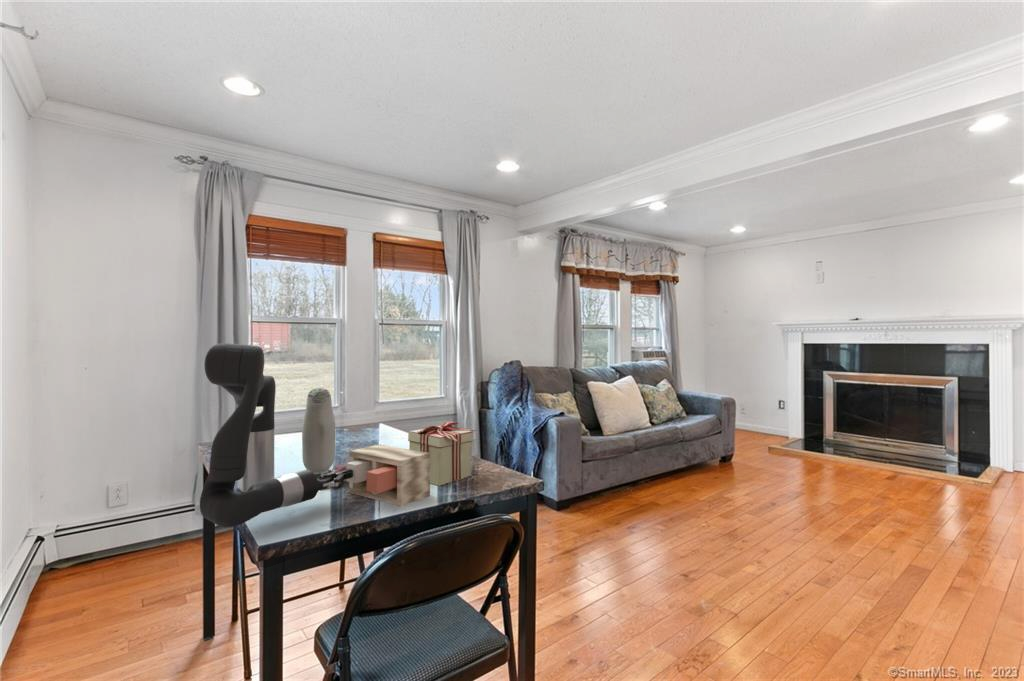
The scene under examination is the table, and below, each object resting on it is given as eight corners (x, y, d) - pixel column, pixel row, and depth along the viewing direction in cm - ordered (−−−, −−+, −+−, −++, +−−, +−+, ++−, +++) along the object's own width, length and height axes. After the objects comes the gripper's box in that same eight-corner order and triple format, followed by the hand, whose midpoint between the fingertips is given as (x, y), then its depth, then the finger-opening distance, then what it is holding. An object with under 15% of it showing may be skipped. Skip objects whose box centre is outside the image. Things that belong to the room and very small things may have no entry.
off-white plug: (355, 483, 135) (355, 465, 135) (346, 480, 137) (346, 463, 137) (378, 476, 141) (378, 459, 141) (369, 474, 143) (369, 457, 143)
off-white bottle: (297, 472, 163) (297, 388, 163) (327, 466, 170) (327, 386, 170) (309, 478, 156) (309, 390, 156) (340, 472, 163) (340, 388, 163)
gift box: (450, 489, 144) (450, 430, 144) (404, 479, 154) (405, 425, 154) (484, 475, 159) (484, 422, 159) (440, 467, 169) (440, 417, 169)
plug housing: (401, 506, 129) (401, 460, 129) (349, 492, 141) (349, 451, 141) (429, 495, 138) (430, 453, 138) (379, 483, 150) (379, 444, 150)
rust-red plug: (376, 493, 125) (377, 474, 125) (366, 490, 128) (366, 471, 128) (400, 485, 132) (400, 467, 132) (389, 483, 134) (389, 465, 134)
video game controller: (328, 494, 145) (338, 473, 144) (316, 486, 145) (325, 465, 145) (346, 484, 154) (355, 465, 154) (334, 477, 155) (343, 458, 154)
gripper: (309, 477, 118) (367, 462, 132) (278, 469, 125) (336, 456, 139) (309, 508, 118) (367, 490, 132) (278, 499, 125) (336, 482, 139)
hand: (351, 473), depth 136 cm, fingers closed
